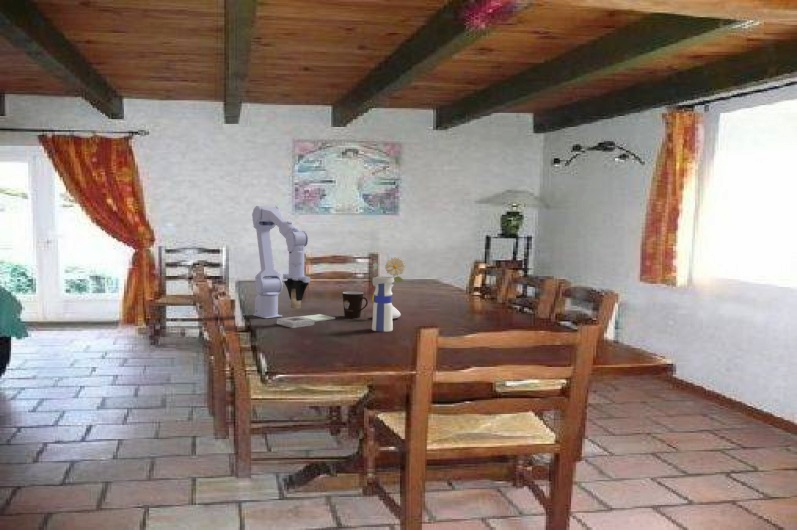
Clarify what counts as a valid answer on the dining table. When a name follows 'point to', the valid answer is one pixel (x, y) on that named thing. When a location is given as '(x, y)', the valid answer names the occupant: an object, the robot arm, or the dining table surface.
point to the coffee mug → (353, 304)
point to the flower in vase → (395, 268)
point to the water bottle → (382, 303)
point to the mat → (319, 317)
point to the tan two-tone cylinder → (294, 300)
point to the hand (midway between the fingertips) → (295, 299)
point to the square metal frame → (295, 322)
